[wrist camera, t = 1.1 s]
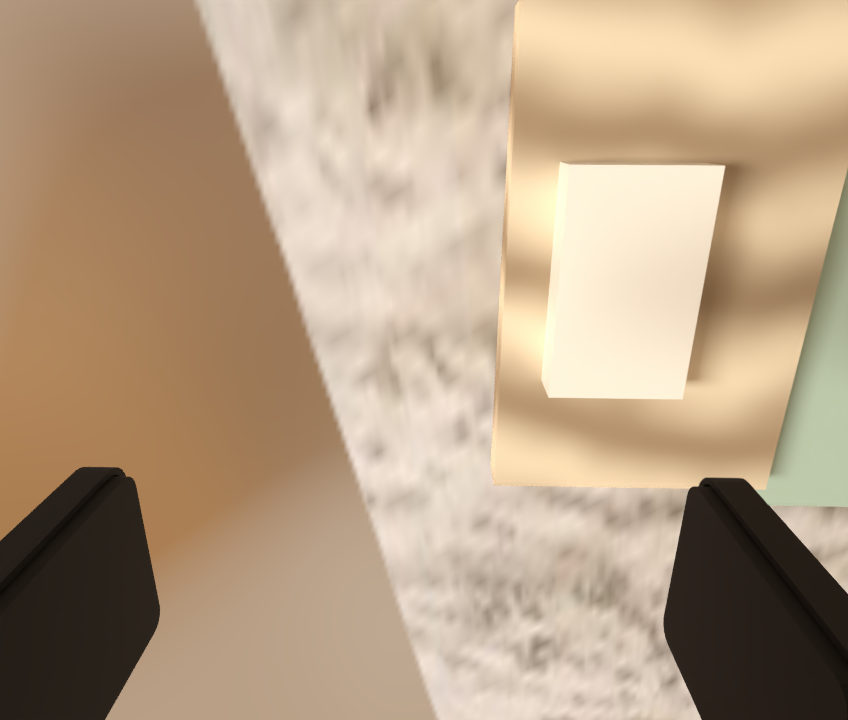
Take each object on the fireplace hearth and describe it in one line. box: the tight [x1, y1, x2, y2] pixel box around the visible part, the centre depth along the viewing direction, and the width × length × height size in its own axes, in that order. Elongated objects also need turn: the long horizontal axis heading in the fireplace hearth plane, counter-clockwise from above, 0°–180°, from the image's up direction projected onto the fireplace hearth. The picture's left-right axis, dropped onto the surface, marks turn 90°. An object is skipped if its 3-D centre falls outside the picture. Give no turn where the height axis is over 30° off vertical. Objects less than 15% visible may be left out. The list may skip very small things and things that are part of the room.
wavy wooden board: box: [491, 0, 848, 490], centre depth 28 cm, size 22×14×2 cm, turn 0°
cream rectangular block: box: [541, 162, 725, 399], centre depth 26 cm, size 10×6×2 cm, turn 0°
